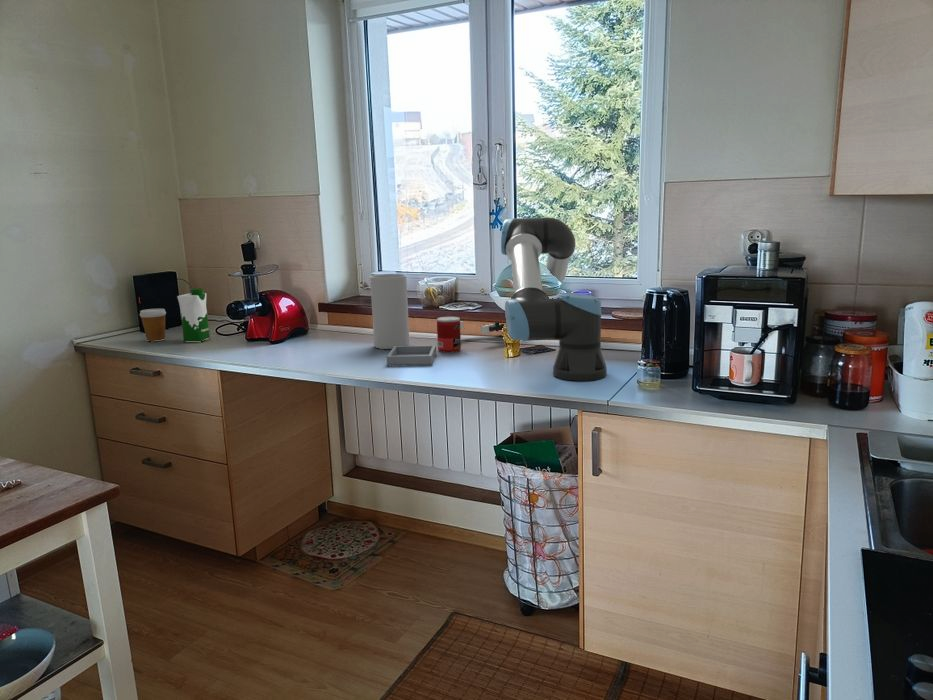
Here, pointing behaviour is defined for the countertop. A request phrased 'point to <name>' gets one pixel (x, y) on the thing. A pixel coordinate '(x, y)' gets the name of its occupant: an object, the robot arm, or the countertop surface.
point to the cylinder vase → (389, 310)
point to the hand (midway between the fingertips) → (467, 328)
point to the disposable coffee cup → (153, 323)
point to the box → (411, 355)
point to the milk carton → (194, 315)
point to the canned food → (448, 334)
